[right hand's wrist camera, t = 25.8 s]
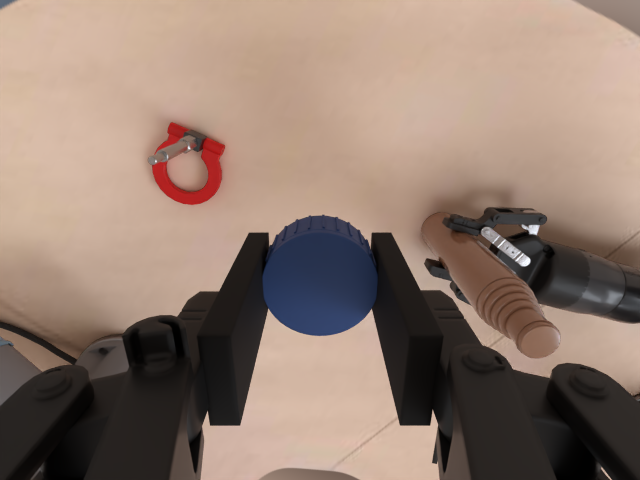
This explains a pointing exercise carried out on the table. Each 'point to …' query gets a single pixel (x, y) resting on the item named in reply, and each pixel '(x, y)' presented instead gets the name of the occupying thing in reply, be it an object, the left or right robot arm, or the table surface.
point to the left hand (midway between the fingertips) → (436, 243)
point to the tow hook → (183, 143)
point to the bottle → (492, 288)
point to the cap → (320, 276)
